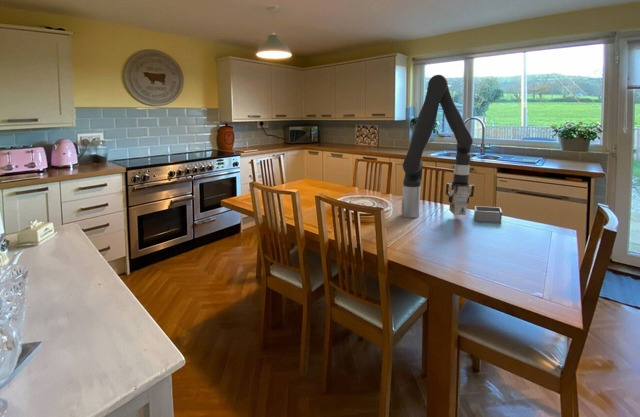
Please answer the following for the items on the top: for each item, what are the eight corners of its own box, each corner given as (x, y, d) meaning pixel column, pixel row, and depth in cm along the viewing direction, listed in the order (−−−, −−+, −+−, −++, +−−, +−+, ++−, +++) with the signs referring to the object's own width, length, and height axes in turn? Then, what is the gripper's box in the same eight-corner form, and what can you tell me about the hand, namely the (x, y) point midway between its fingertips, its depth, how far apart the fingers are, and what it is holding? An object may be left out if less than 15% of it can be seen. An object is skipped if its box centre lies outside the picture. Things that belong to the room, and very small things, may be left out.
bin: (474, 221, 201) (475, 210, 199) (473, 216, 210) (474, 205, 208) (500, 223, 196) (502, 212, 195) (499, 218, 206) (500, 207, 204)
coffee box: (448, 210, 209) (451, 181, 205) (460, 210, 209) (463, 181, 205) (454, 215, 200) (457, 185, 196) (466, 215, 200) (469, 185, 196)
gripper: (446, 173, 198) (444, 204, 202) (476, 175, 193) (473, 206, 198) (447, 170, 205) (444, 200, 209) (476, 172, 200) (472, 202, 205)
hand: (458, 203), depth 203 cm, fingers closed on coffee box, 7 cm apart
